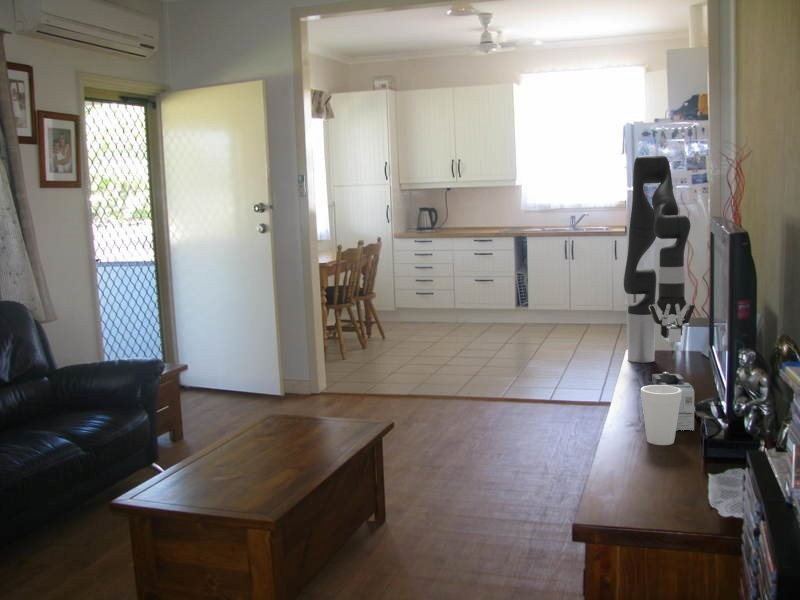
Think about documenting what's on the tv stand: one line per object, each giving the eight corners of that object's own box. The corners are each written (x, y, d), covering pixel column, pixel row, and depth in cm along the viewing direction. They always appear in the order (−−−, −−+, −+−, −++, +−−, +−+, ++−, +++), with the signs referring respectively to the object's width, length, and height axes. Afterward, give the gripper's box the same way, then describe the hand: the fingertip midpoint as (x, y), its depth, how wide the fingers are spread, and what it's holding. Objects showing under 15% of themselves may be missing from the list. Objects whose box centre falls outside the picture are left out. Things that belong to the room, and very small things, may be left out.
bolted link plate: (662, 337, 257) (662, 323, 257) (673, 337, 257) (673, 322, 256) (669, 342, 247) (669, 327, 247) (680, 342, 247) (680, 327, 246)
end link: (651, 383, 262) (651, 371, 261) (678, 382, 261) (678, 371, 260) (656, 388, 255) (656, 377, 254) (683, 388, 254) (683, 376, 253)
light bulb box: (688, 423, 216) (689, 383, 215) (695, 431, 209) (695, 389, 208) (646, 424, 217) (647, 384, 216) (652, 431, 210) (652, 390, 209)
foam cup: (675, 449, 195) (675, 395, 194) (636, 444, 200) (636, 391, 199) (684, 438, 203) (685, 387, 202) (646, 433, 208) (646, 383, 207)
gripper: (692, 279, 253) (692, 335, 255) (645, 280, 254) (645, 335, 256) (698, 281, 246) (698, 339, 247) (650, 282, 247) (649, 339, 249)
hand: (671, 337), depth 252 cm, fingers closed on bolted link plate, 3 cm apart
